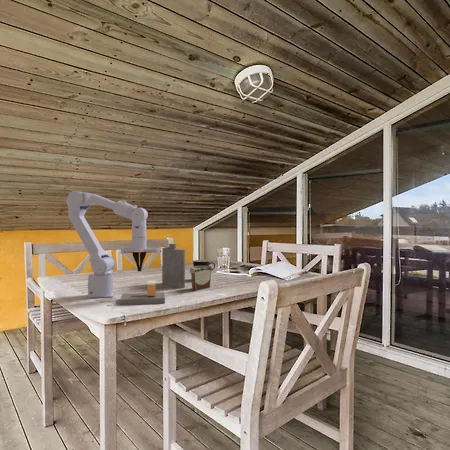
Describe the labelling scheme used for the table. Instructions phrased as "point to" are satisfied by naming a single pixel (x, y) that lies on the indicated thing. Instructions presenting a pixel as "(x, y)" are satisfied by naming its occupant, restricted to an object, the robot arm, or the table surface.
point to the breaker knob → (151, 288)
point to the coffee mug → (202, 263)
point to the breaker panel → (142, 298)
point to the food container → (200, 277)
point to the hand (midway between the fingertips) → (139, 271)
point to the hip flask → (173, 266)
